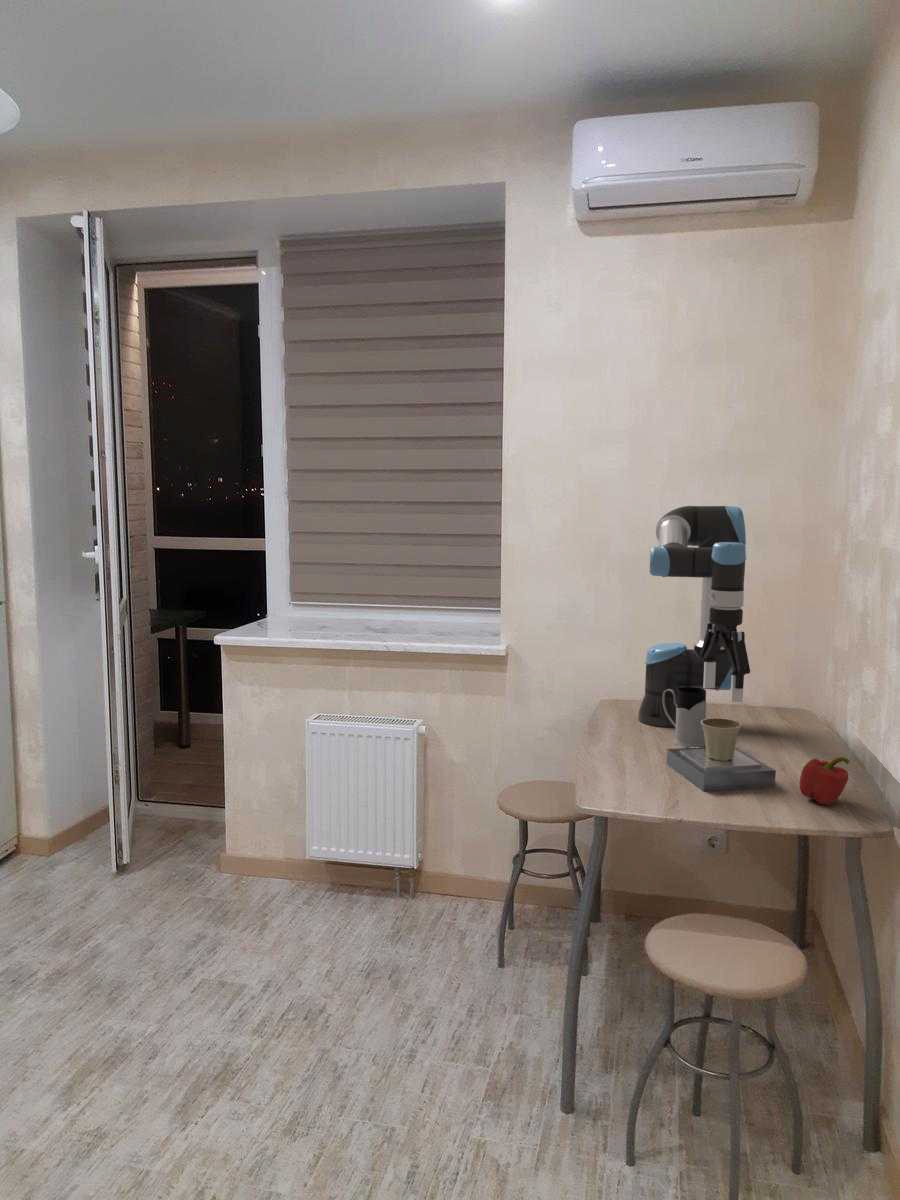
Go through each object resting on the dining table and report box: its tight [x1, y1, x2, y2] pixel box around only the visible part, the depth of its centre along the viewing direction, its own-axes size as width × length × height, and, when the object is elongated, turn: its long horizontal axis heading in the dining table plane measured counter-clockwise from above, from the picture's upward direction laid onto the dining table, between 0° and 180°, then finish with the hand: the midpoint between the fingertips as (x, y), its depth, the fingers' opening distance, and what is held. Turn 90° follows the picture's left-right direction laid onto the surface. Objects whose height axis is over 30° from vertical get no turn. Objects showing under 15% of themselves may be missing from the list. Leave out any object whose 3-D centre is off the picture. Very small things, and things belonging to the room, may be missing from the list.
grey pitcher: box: [662, 687, 707, 748], centre depth 237 cm, size 9×14×15 cm, turn 36°
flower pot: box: [701, 717, 742, 761], centre depth 208 cm, size 9×9×9 cm
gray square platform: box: [666, 746, 777, 792], centre depth 209 cm, size 20×18×4 cm
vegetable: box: [799, 757, 851, 805], centre depth 192 cm, size 11×10×10 cm
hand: (722, 694), depth 207 cm, fingers open, 13 cm apart
